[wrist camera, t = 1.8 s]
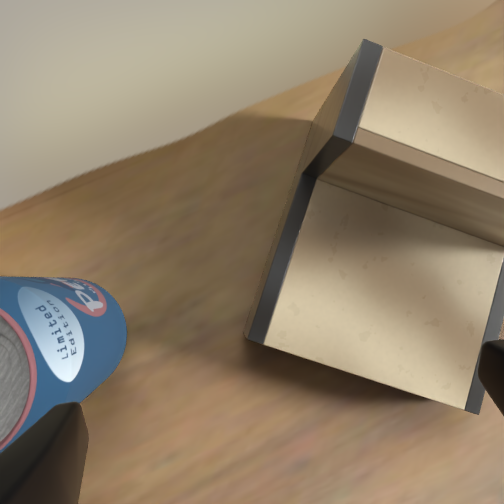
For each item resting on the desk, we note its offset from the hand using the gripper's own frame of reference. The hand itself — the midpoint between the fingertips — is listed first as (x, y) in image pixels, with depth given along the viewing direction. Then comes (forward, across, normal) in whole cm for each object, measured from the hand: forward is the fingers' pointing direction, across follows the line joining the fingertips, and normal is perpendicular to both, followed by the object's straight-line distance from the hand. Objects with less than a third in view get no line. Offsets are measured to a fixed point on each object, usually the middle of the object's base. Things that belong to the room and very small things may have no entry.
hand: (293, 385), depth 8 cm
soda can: (+16, +10, +7) cm, 20 cm away
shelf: (+16, -10, +4) cm, 20 cm away
